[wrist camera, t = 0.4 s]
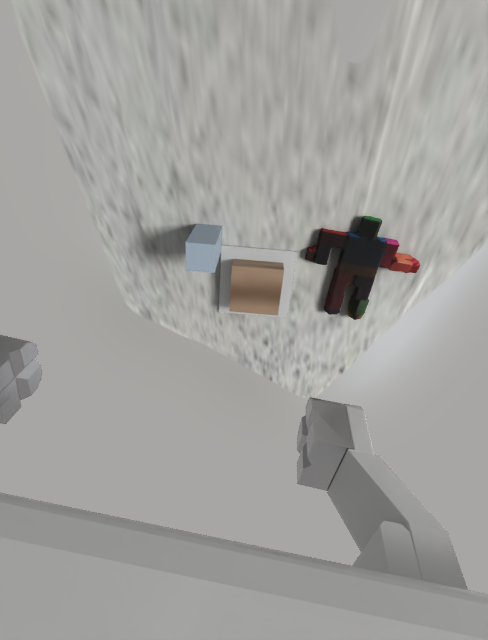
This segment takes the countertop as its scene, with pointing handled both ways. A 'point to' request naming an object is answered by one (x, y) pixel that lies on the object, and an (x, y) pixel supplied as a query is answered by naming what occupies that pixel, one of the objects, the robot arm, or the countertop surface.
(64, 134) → the countertop surface
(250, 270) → the base block
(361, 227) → the toy
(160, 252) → the countertop surface
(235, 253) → the mat
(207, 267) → the post
